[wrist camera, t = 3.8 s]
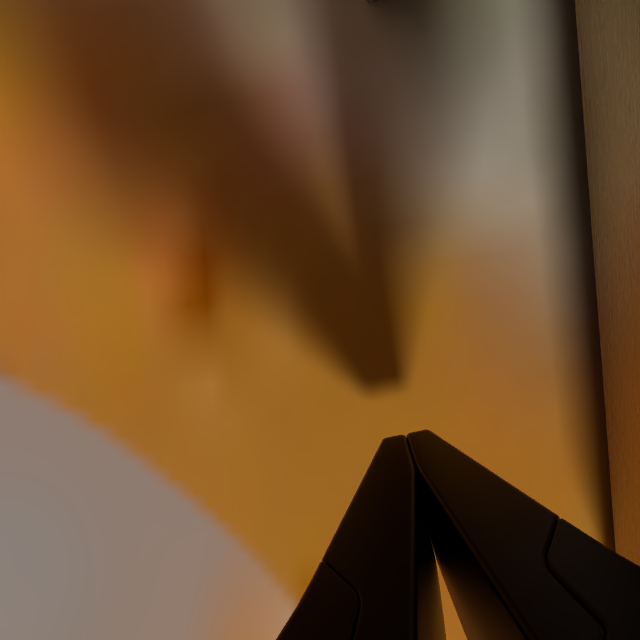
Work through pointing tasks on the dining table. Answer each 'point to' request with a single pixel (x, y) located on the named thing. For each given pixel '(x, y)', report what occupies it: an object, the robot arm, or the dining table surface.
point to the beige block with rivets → (616, 236)
